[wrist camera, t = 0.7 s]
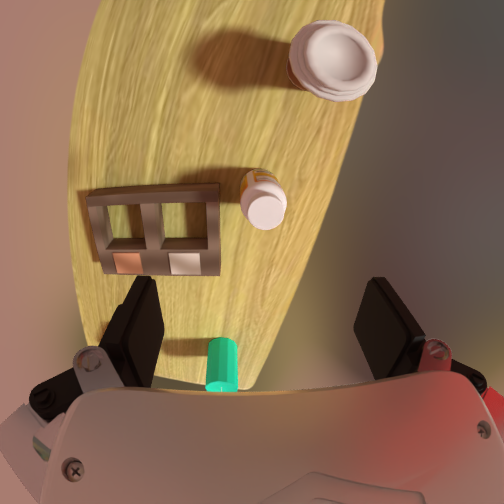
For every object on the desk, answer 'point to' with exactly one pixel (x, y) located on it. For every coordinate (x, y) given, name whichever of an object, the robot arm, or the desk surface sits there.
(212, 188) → the socket block
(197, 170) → the desk surface
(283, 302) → the desk surface
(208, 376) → the candle
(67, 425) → the robot arm
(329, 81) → the coffee cup
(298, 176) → the desk surface
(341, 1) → the desk surface
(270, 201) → the supplement bottle
